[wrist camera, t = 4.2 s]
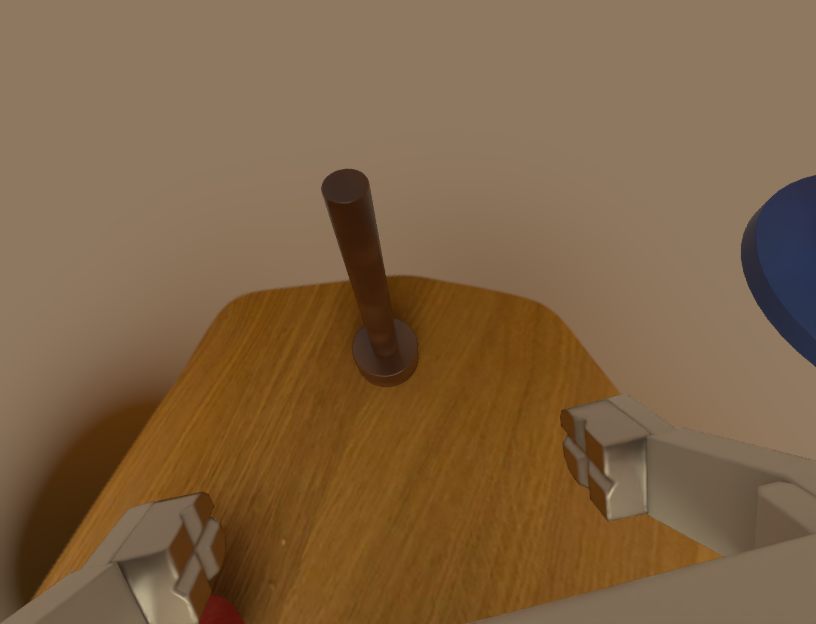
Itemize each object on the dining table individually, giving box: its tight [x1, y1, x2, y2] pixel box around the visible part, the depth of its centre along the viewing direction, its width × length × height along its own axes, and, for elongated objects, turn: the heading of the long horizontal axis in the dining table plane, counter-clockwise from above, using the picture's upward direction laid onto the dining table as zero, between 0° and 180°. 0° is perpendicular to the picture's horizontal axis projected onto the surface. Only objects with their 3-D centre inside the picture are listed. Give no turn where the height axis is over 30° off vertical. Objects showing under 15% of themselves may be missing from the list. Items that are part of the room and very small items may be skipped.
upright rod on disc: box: [321, 169, 418, 387], centre depth 24 cm, size 5×5×18 cm
